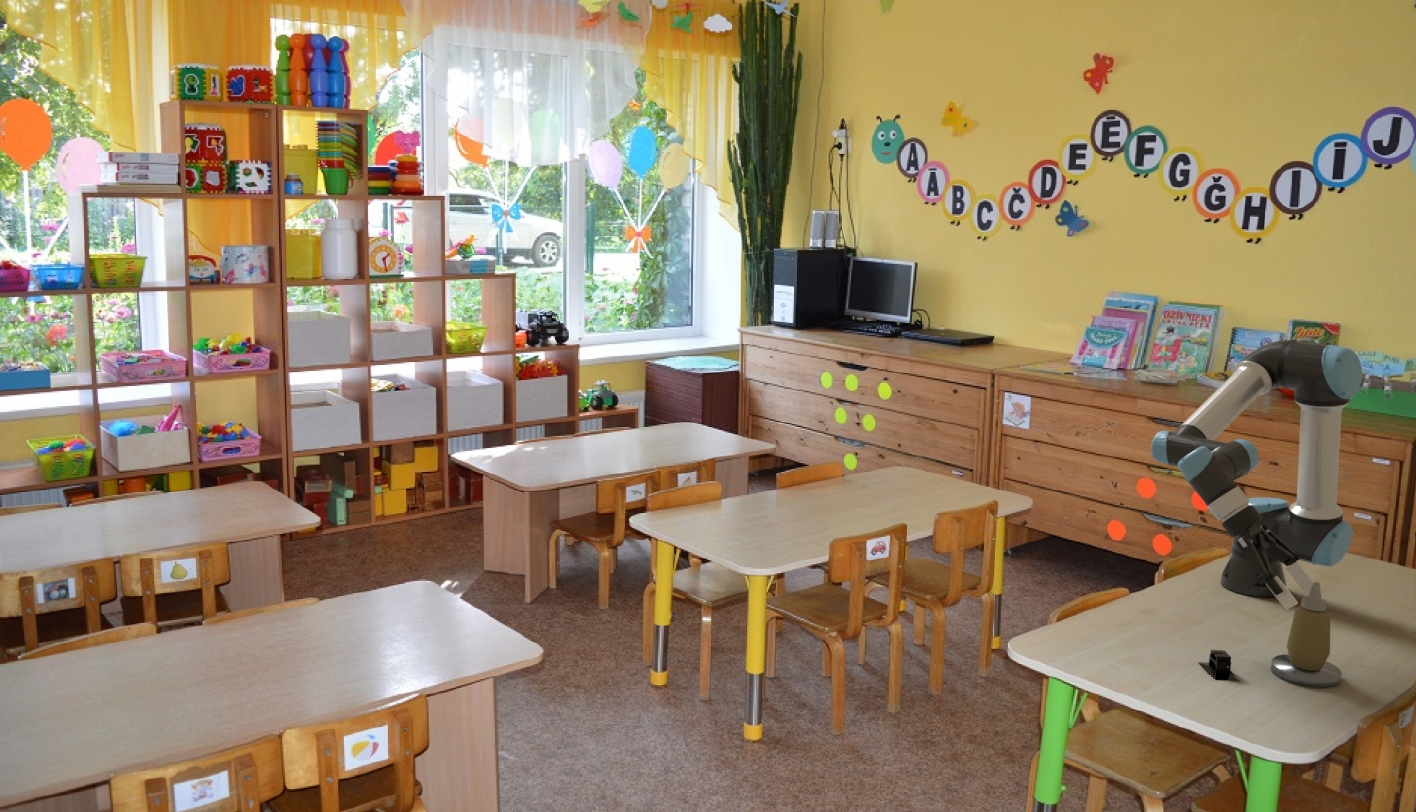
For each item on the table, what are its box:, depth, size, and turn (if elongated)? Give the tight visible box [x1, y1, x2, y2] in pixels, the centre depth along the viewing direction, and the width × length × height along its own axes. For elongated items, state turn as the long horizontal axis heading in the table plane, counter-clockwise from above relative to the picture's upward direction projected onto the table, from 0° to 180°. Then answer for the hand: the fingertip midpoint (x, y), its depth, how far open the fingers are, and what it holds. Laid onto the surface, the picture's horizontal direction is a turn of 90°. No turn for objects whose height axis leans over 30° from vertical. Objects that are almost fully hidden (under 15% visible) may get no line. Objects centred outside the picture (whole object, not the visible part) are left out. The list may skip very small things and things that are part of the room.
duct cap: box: [1270, 653, 1343, 689], centre depth 250 cm, size 13×13×2 cm
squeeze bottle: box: [1286, 581, 1331, 671], centre depth 249 cm, size 8×8×18 cm
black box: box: [1198, 649, 1241, 682], centre depth 251 cm, size 12×7×5 cm, turn 177°
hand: (1302, 598), depth 249 cm, fingers open, 13 cm apart
